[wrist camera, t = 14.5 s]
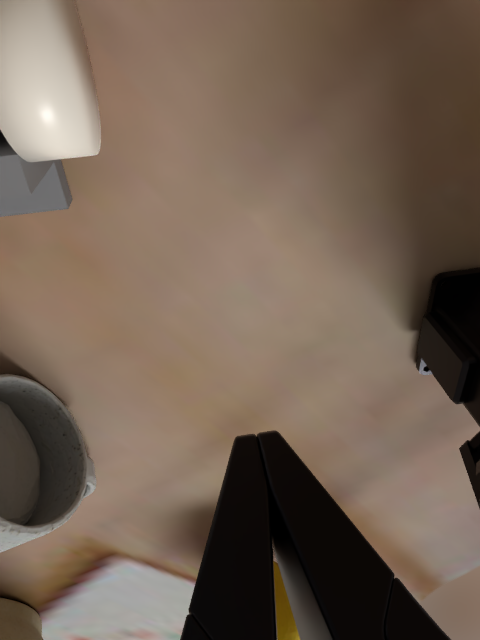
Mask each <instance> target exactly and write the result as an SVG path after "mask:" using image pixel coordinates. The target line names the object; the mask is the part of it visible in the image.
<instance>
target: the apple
mask: <svg viewBox="0 0 480 640" xmlns="http://www.w3.org/2000/svg"><path fill="white" fill-rule="evenodd" d="M273 565H274V583H275V601H276V619H277V637H278V640H300V637H299V634H298V630H297V627H296V623H295V620H294V617H293V613H292V610H291V606H290V603H289V600H288V596H287V593H286V589H285V586H284V583H283V579H282V576H281V572H280V569H279V566H278V563H276V562H274V561H273Z"/></svg>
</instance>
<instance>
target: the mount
mask: <svg viewBox="0 0 480 640" xmlns="http://www.w3.org/2000/svg"><path fill="white" fill-rule="evenodd" d="M71 202H72V196H71V193H70V190H69V186H68V183H67V179H66V176H65V173H64V169H63V166H62V162H61V159H58V160H48V161H39V162H27V161H26V160H24V159H22V158H21V157H20V156H19V155H18V154H17V153H16V152H15V151H14V150H13V148H12V147H11V146H10V144H9V143H8V141H7V140H6V138H5V137H4V135H3V133H2V132H1V130H0V217H2V216H11V215H19V214H28V213H36V212H45V211H53V210H62V209H68V208H69V206H70V204H71Z"/></svg>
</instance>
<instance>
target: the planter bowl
mask: <svg viewBox="0 0 480 640" xmlns="http://www.w3.org/2000/svg"><path fill="white" fill-rule="evenodd" d="M0 640H43V638H42V622H41V618H40V616H39V615H38V613H37V612H36V611H35V610H33V609H32V608H30V607H29V606H27V605H25V604H22V603H20V602H17V601H13V600H9V599H4V598H0Z"/></svg>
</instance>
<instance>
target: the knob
mask: <svg viewBox="0 0 480 640" xmlns="http://www.w3.org/2000/svg"><path fill="white" fill-rule="evenodd" d="M0 130H1V132H2V133H3V135H4V137H5V138H6V140H7V141H8V143H9V144H10V146H11V147H12V148H13V150H14V151H15V152H16V153H17V154H18V155H19V156H20V157H21V158H22V159H24V160H26V161H27V162H39V161H48V160H58V159H67V158H76V157H85V156H94V155H98V153H99V150H100V145H101V125H100V114H99V106H98V99H97V92H96V86H95V81H94V76H93V71H92V66H91V61H90V57H89V52H88V48H87V44H86V40H85V36H84V32H83V29H82V25H81V21H80V18H79V15H78V11H77V8H76V5H75V2H74V0H0Z"/></svg>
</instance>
